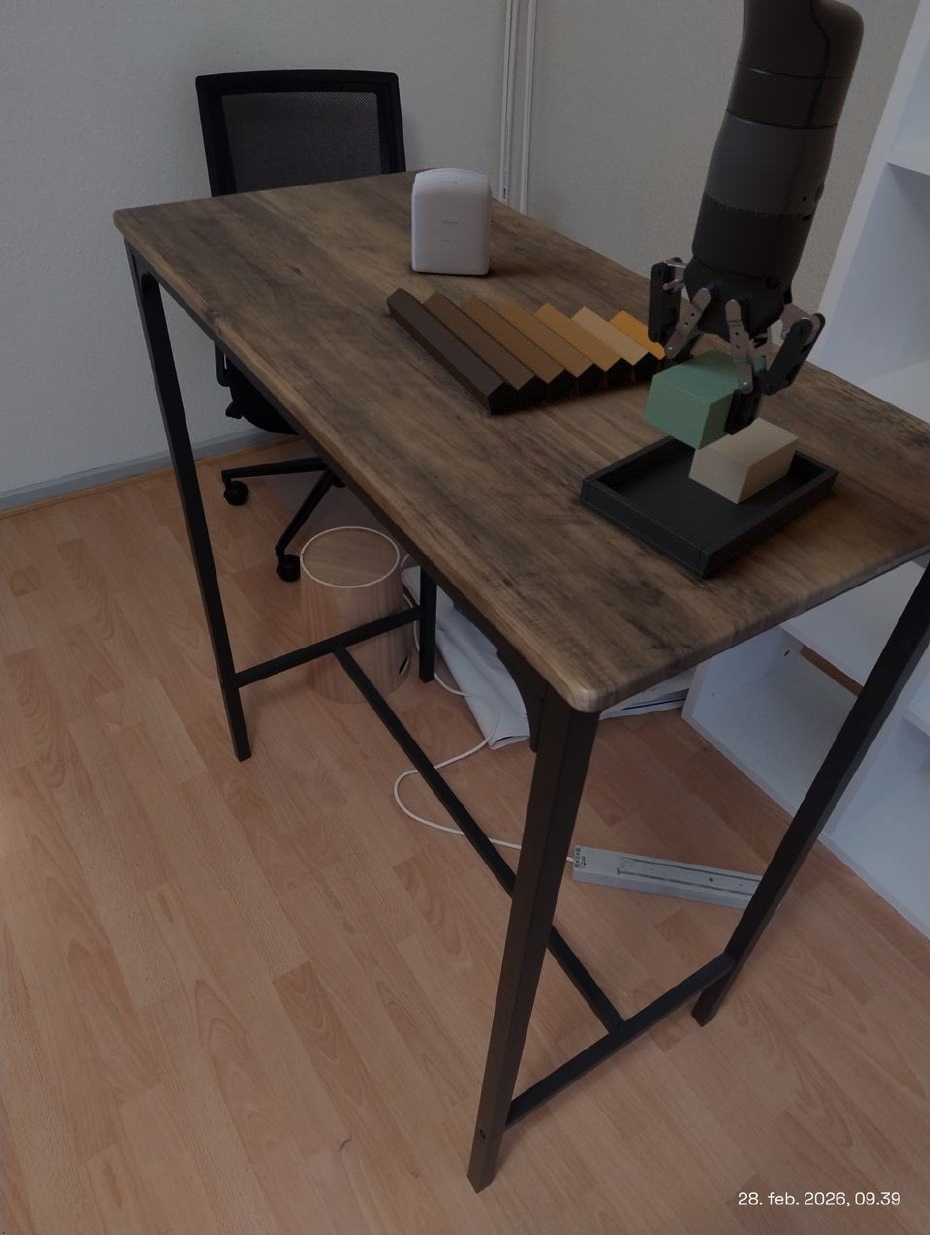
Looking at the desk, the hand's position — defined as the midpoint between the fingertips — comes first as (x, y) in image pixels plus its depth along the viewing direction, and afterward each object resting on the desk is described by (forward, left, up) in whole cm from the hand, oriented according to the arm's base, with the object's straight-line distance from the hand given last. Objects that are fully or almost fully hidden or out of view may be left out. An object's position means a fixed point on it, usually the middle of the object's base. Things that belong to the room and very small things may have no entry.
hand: (702, 414), depth 70 cm
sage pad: (0, 0, -1) cm, 1 cm away
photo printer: (+54, -21, -10) cm, 59 cm away
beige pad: (0, -9, -9) cm, 13 cm away
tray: (0, -5, -10) cm, 11 cm away
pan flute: (+32, -14, -10) cm, 36 cm away
